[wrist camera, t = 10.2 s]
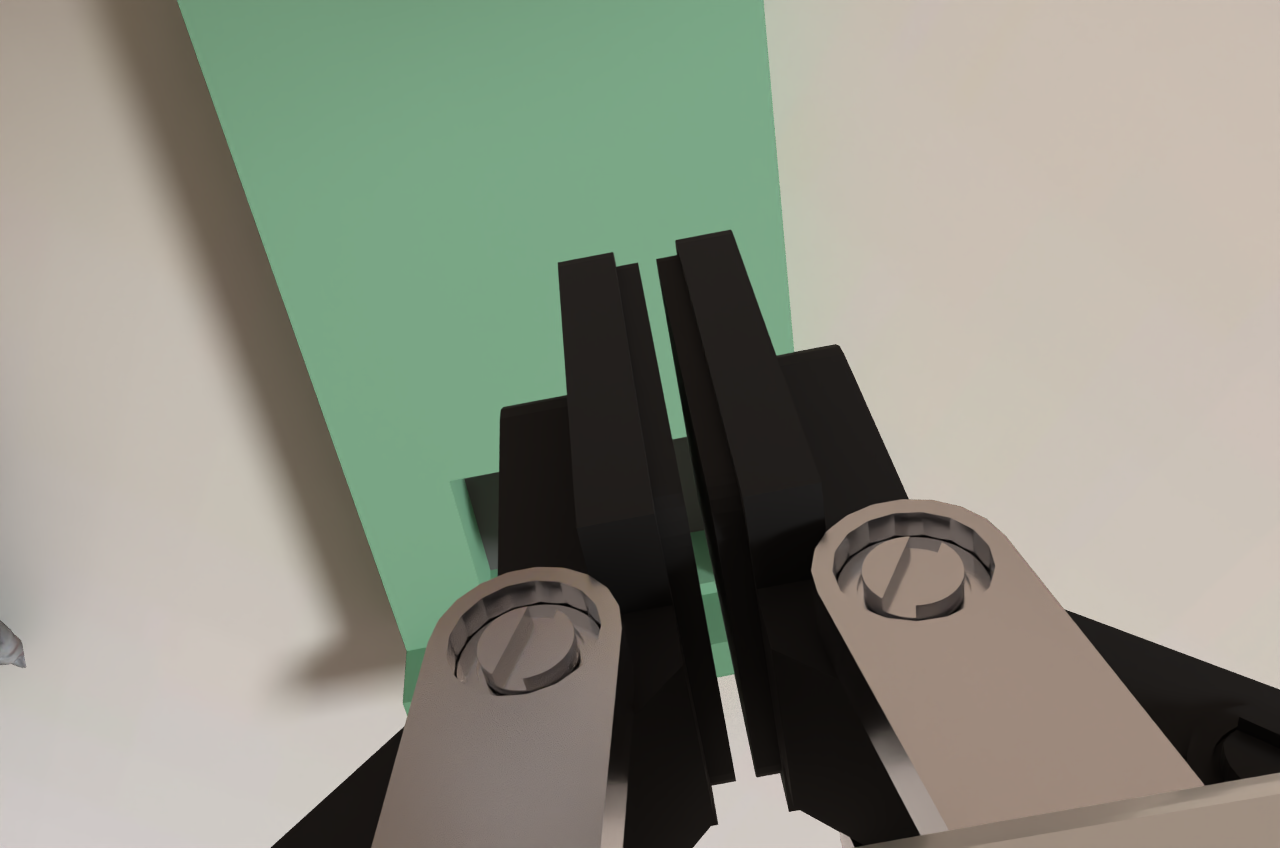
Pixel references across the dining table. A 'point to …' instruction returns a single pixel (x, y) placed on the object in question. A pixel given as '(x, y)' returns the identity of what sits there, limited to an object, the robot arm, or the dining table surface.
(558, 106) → the green
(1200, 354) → the dining table surface
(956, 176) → the dining table surface
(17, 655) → the lucky cat figurine
